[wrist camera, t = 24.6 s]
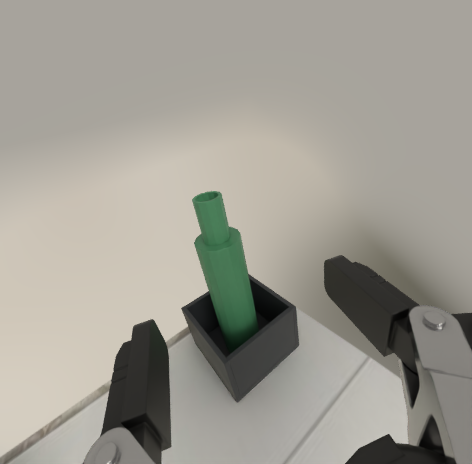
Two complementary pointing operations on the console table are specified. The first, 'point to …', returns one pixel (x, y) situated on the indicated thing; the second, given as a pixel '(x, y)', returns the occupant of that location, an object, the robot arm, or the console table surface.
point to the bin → (253, 350)
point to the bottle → (225, 271)
